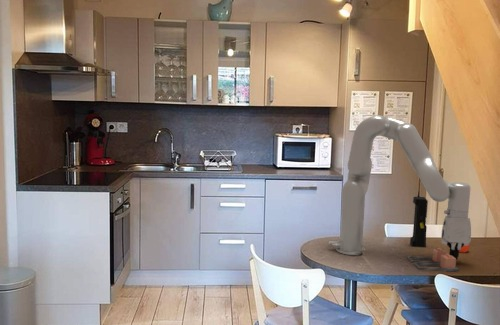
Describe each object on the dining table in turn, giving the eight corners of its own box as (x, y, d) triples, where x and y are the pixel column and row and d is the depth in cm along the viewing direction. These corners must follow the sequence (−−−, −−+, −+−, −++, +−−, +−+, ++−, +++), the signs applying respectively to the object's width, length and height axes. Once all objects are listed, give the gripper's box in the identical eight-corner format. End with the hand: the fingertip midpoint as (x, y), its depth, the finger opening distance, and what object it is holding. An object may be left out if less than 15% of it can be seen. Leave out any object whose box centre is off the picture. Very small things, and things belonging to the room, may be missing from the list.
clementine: (461, 257, 192) (463, 241, 192) (446, 252, 198) (447, 237, 197) (471, 254, 197) (472, 238, 196) (456, 250, 203) (457, 234, 202)
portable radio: (426, 250, 201) (431, 194, 198) (412, 248, 202) (416, 193, 199) (423, 245, 209) (427, 191, 206) (409, 244, 210) (413, 191, 207)
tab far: (436, 263, 179) (437, 250, 179) (432, 259, 183) (433, 247, 183) (446, 263, 179) (447, 250, 179) (442, 260, 183) (443, 247, 183)
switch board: (408, 274, 169) (409, 268, 169) (394, 259, 186) (394, 254, 186) (472, 276, 169) (473, 270, 169) (452, 261, 186) (452, 256, 186)
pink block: (444, 269, 172) (445, 256, 171) (440, 266, 176) (441, 253, 175) (455, 270, 172) (456, 256, 171) (450, 266, 176) (451, 253, 175)
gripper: (442, 215, 175) (438, 261, 177) (481, 216, 175) (476, 262, 177) (434, 211, 183) (431, 255, 185) (471, 212, 183) (467, 256, 185)
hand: (453, 258), depth 181 cm, fingers closed
